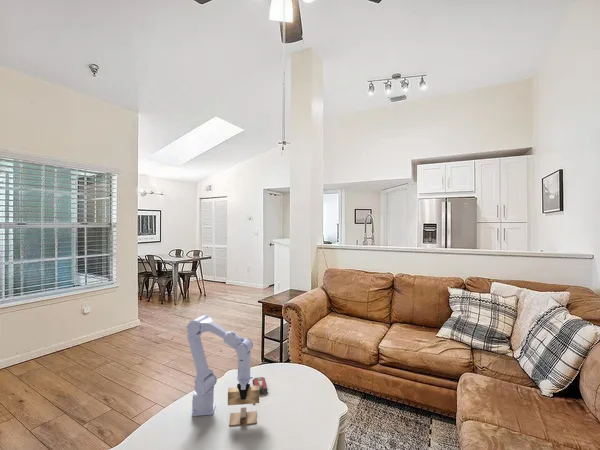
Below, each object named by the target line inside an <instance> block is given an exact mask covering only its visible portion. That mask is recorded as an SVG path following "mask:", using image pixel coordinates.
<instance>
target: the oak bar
mask: <svg viewBox="0 0 600 450" xmlns="http://www.w3.org/2000/svg"><path fill="white" fill-rule="evenodd" d="M251 404H252V405H253V404H260V394H259V386H252V385H250V387H249V389H248V392H247V396H246V399H245V400H241V397H240V392H239V390H238V388H237V386H236V387H234V386H233V387H228V390H227V406H238V405H251Z"/></svg>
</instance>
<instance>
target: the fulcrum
mask: <svg viewBox="0 0 600 450" xmlns="http://www.w3.org/2000/svg"><path fill="white" fill-rule="evenodd" d="M229 414H230V416H229V422H228V426H229V427H235V426H236V427H238V426H247V425H249V426H250V425H256V424H258V423H257V418H258V417H257V410H256V411H253V410H252V411H247V407H240V412H231V413H229Z"/></svg>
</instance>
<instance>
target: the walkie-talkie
mask: <svg viewBox="0 0 600 450" xmlns="http://www.w3.org/2000/svg"><path fill="white" fill-rule="evenodd" d="M251 386H259V395H265V394H267V393H268V386H267V382H266V378H265V377H264V376H260V377H259V376H258V377H255V378H254V377H253V378H252V385H251Z"/></svg>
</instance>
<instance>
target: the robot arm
mask: <svg viewBox="0 0 600 450" xmlns="http://www.w3.org/2000/svg"><path fill="white" fill-rule="evenodd" d="M186 330H187V340H188V345H189V348H190V351H191V357H192V360H193V364H194V367H195V372H196V375H195V378H194V380H193V382H194V392H193V395H192V400H191V402H192V404H191V405H192V406H191V407H192V408H191V416H192V417H198V416H211V415H213V414H214V412H215V406H216V403H215V402H214V396H215V395H214V394H215V393H214V392H215V390H214V389H215V385H217V382H218V379H217V375H215V373H214V370H213V369H211V368H209V365H208V359H207V357H206V353H205V350H204V346H203V343H202V342H203V341H202V339H201V336H202V334H203V333H205V332H210V333H213V335H216V336H218V337H220V338H222V340H223V342H224V343H225V344H226V345H228V346H230V348H232V349H234V350H235V352H236V354H237V376H236V379H237V381H238V383H237V384H236V387H237V388H238V390H239V392H240V397H241V400H245V399H246V396H247V392H248V389H249V387H250V386H251V383H249V382H250V380H253V379H254V375H253V374H251V361H252V359H251V358H252V356H251V355H252V354H251V353H252V351H251V350H252V349H253V347H254V343H253V341H252V340H251V339H250V338H249V337H243V336H240V335H239V334H237V333H236V332H235V331H234V330H233V331H232V330H229V331H227V330H226V329H225V328H223V327H221V326H220V325H219V324H218V323H217V322H215V321H214V320H213V318H212V317H211V316H209V315H207V314H202V315H200V316H198V317H196V318H195V319H192V320H190V321H189V322H188V323H187V325H186Z"/></svg>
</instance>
